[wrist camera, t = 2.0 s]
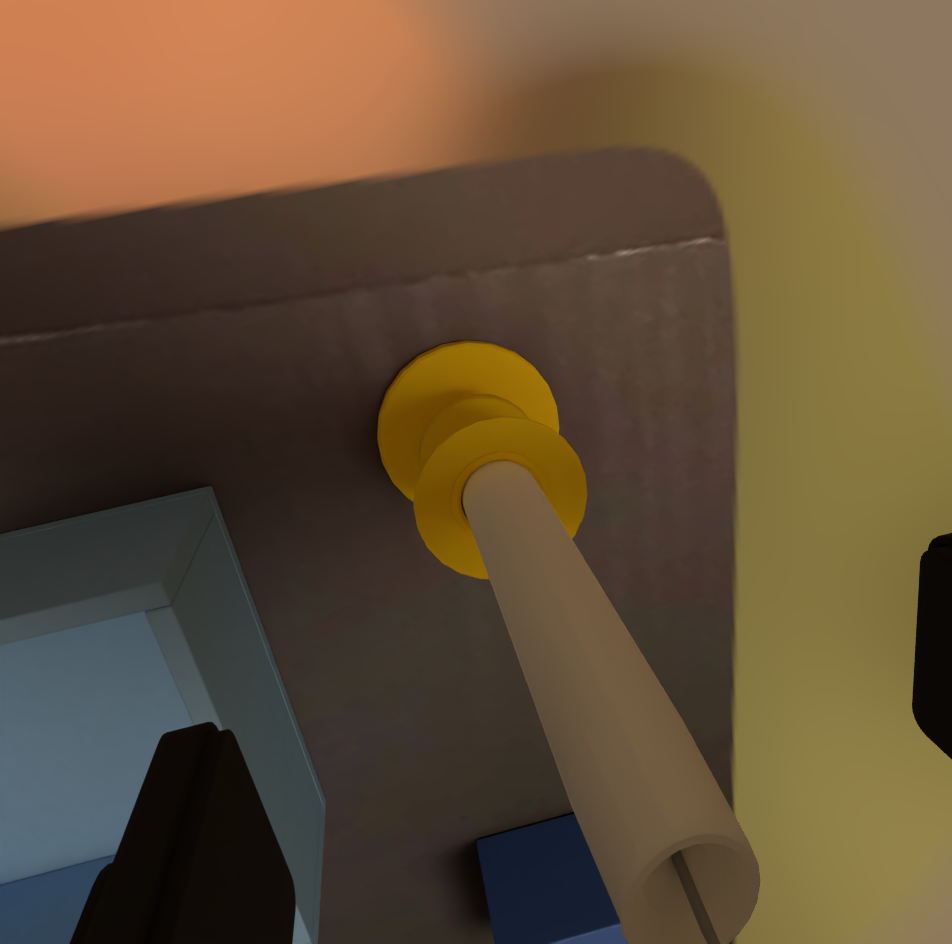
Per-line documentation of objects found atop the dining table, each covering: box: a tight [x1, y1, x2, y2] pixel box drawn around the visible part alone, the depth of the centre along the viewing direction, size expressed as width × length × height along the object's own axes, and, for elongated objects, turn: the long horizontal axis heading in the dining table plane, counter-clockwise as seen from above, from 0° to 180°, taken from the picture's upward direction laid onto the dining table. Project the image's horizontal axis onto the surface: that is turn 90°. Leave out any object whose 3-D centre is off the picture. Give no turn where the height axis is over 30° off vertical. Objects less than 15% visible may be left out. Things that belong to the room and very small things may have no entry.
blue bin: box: [0, 486, 326, 944], centre depth 19 cm, size 12×12×6 cm
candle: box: [377, 340, 760, 944], centre depth 13 cm, size 5×5×16 cm
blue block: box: [476, 813, 628, 944], centre depth 25 cm, size 4×4×4 cm
